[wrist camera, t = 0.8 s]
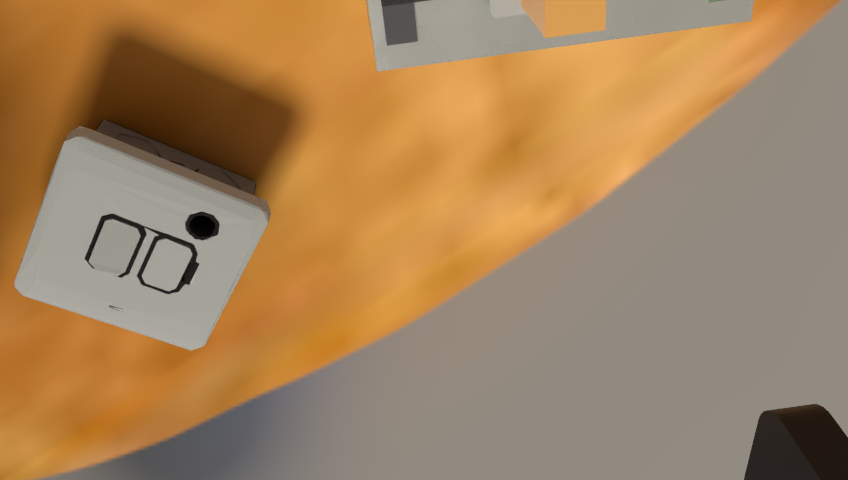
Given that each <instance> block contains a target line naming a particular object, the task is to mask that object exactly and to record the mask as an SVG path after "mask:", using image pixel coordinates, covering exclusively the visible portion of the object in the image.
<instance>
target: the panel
mask: <svg viewBox="0 0 848 480" xmlns="http://www.w3.org/2000/svg"><path fill="white" fill-rule="evenodd" d="M753 3H754V0H606V27H605V30H602V31H594V32H587V33H580V34H572V35H565V36H557V37H550V38H545V37H544V36H543V35H542V33H541V32H540V31H539V29H538V28H537V27H536V25H535V24H534V23H533V21H532V20H531V19H530V17H529V16H528V15H527V14H522V15H514V16H507V17H500V18H494V16H493V15H492V13H491V9H490V0H366V5H367V12H368V19H369V26H370V32H371V38H372V44H373V50H374V56H375V62H376V68H377V71H384V70H391V69H399V68H406V67H414V66H421V65H428V64H436V63H443V62H450V61H458V60H465V59H473V58H480V57H487V56H495V55H502V54H509V53H517V52H524V51H532V50H539V49H546V48H554V47H561V46H569V45H576V44H583V43H591V42H598V41H605V40H613V39H620V38H628V37H635V36H642V35H650V34H657V33H664V32H672V31H679V30H687V29H694V28H701V27H709V26H716V25H723V24H731V23H738V22H746V21H751V18H752V10H753Z"/></svg>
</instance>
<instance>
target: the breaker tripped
mask: <svg viewBox="0 0 848 480" xmlns="http://www.w3.org/2000/svg"><path fill="white" fill-rule="evenodd" d="M490 9H491V13H492V15H493V16H494V18H500V17H507V16H514V15H522V14H527V15H528V16H529V17H530V19H531V20H532V21H533V23H534V24H535V25H536V27H537V28H538V29H539V31H540V32H541V33H542V35H543V36H544V37H545V38H550V37H557V36H565V35H572V34H580V33H587V32H594V31H602V30H605V27H606V0H490Z"/></svg>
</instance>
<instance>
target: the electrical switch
mask: <svg viewBox="0 0 848 480" xmlns="http://www.w3.org/2000/svg"><path fill="white" fill-rule="evenodd" d="M157 152H158V153H159V154H160V155H161V158H160V157H159V155H158V153H157ZM175 163H176V164H175ZM177 164H178V165H177ZM205 167H206V168H205ZM197 169H199V170H198V171H197V172H195V170H197ZM226 175H227V176H226ZM255 187H256V185H255V182H254V181H252V180H249V179H247V178H245V177H242V176H240V175H237V174H235V173H232V172H230V171H228V170H225V169H223V168H220V167H218V166H216V165H213V164H211V163H208V162H206V161H203V160H201V159H199V158H196V157H194V156H191V155H189V154H187V153H184V152H182V151H179V150H177V149H174V148H172V147H170V146H167V145H165V144H162V143H160V142H158V141H155V140H153V139H150V138H148V137H145V136H143V135H141V134H138V133H136V132H133V131H131V130H129V129H126V128H124V127H121V126H119V125H116V124H114V123H112V122H109V121H107V120H103V121H102V123H100V124H99V126H98V128H97V130H95V131H94V130H91V129H88V128H85V127H82V126H79V127H77V128H76V129H74V130H72V131H71V132H70V133H69V134H68V135H67V137H66V139H65V141H64V143H63V146H62V148H61V150H60V153H59V155H58V158H57V161H56V164H55V166H54V169H53V172H52V175H51V178H50V181H49V184H48V186H47V189H46V192H45V195H44V198H43V201H42V204H41V207H40V209H39V212H38V215H37V218H36V221H35V224H34V227H33V230H32V233H31V235H30V238H29V241H28V244H27V247H26V250H25V253H24V256H23V258H22V261H21V264H20V267H19V270H18V273H17V276H16V279H15V282H14V283H15V288H16V289H17V290H18V291H19V292H20V293H21V294H22V295H23V296H26V297H29V298H32V299H35V300H38V301H41V302H44V303H47V304H50V305H53V306H57V307H60V308H63V309H66V310H69V311H72V312H75V313H78V314H81V315H84V316H87V317H90V318H93V319H96V320H99V321H102V322H106V323H109V324H112V325H115V326H118V327H121V328H124V329H127V330H130V331H133V332H136V333H139V334H142V335H145V336H148V337H152V338H155V339H158V340H161V341H164V342H167V343H170V344H173V345H176V346H179V347H182V348H185V349H188V350H194V349H197V348H200V347H203V346H205V344H206V342H207V340H208V338H209V336H210V334H211V332H212V330H213V328H214V327H215V325H216V323H217V321H218V319H219V317H220V315H221V313H222V311H223V309H224V307H225V305H226V303H227V302H228V300H229V298H230V296H231V294H232V292H233V290H234V288H235V286H236V284H237V282H238V280H239V278H240V277H241V275H242V273H243V271H244V269H245V267H246V265H247V263H248V261H249V259H250V257H251V255H252V253H253V252H254V250H255V248H256V246H257V244H258V242H259V240H260V238H261V236H262V234H263V232H264V230H265V228H266V227H267V225H268V222H269V218H270V214H271V213H270V208H269V206H268V203H267V201H266V200H264V199H261V198H259V197H256V196H255V195H254V192H255ZM206 216H208V217H209V218H208V217H206Z"/></svg>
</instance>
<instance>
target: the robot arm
mask: <svg viewBox="0 0 848 480" xmlns="http://www.w3.org/2000/svg"><path fill="white" fill-rule="evenodd" d="M744 480H848V437H847V436H846V435H845V433H844V432H843V431H842V429H841V428H840V426H839V425H838V424H837V422H836V421H835V420H834V418H833V417H832V416H831V415H830V413H829V412H828V411H827V410H826V409H825V408H824V407H822V406H820V405H817V404H811V405H804V406H797V407H790V408H783V409H776V410H769V411H764V412H763V413H762V414H761V415H760V418H759V421H758V425H757V428H756V433H755V437H754V441H753V445H752V449H751V453H750V457H749V461H748V465H747V469H746V473H745V478H744Z"/></svg>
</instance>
